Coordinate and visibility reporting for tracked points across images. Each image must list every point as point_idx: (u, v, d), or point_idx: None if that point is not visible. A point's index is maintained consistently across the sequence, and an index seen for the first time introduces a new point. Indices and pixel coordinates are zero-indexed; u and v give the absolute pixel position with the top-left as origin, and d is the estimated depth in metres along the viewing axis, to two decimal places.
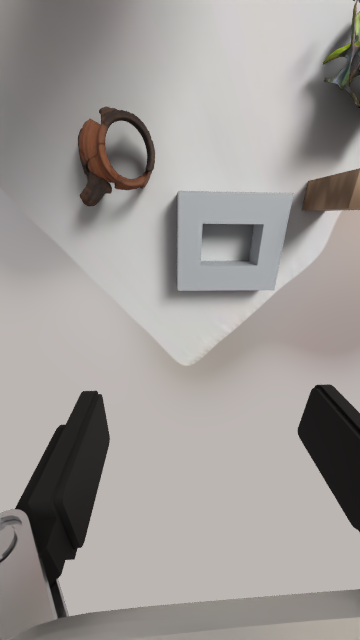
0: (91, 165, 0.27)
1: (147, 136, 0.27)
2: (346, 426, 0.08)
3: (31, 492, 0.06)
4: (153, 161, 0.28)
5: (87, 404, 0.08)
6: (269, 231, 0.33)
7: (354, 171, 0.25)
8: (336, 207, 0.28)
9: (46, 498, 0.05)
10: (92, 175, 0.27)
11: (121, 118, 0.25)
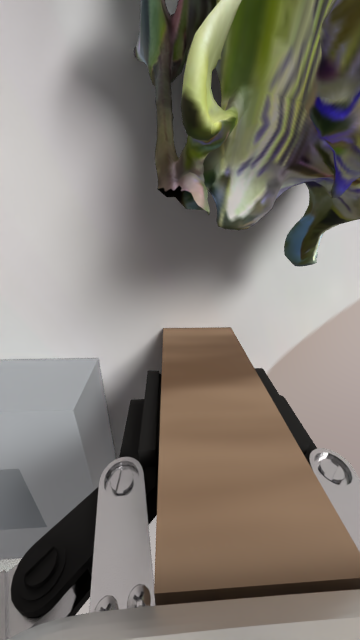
0: None
1: None
2: None
3: (127, 448, 0.07)
4: None
5: (156, 380, 0.09)
6: (43, 478, 0.12)
7: (156, 538, 0.05)
8: None
9: (152, 447, 0.07)
10: None
11: None
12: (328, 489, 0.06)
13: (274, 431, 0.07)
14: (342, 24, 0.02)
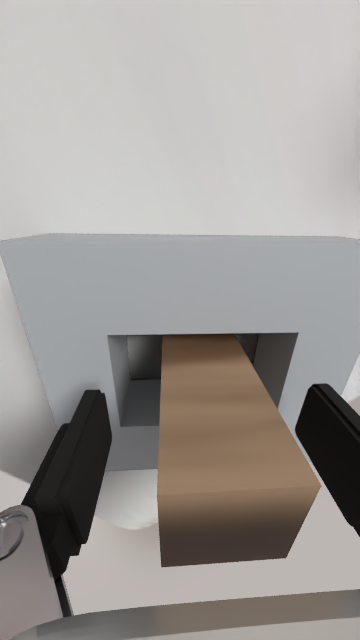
0: None
1: None
2: (342, 424, 0.08)
3: (36, 489, 0.06)
4: None
5: (90, 402, 0.08)
6: (313, 349, 0.11)
7: (158, 465, 0.06)
8: None
9: (52, 494, 0.05)
10: None
11: None
12: None
13: (256, 395, 0.08)
14: None
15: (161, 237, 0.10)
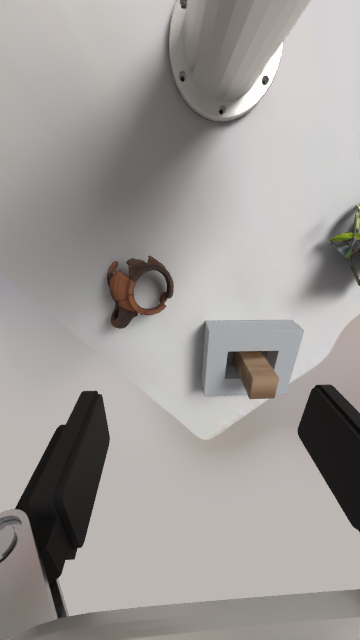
0: (121, 304, 0.31)
1: (167, 276, 0.31)
2: (346, 426, 0.08)
3: (31, 492, 0.06)
4: (172, 290, 0.33)
5: (87, 404, 0.08)
6: (283, 355, 0.39)
7: (251, 376, 0.34)
8: (245, 388, 0.37)
9: (46, 498, 0.05)
10: (121, 309, 0.32)
11: (146, 271, 0.29)
12: None
13: (268, 365, 0.36)
14: None
15: (241, 324, 0.38)
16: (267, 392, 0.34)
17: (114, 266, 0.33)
